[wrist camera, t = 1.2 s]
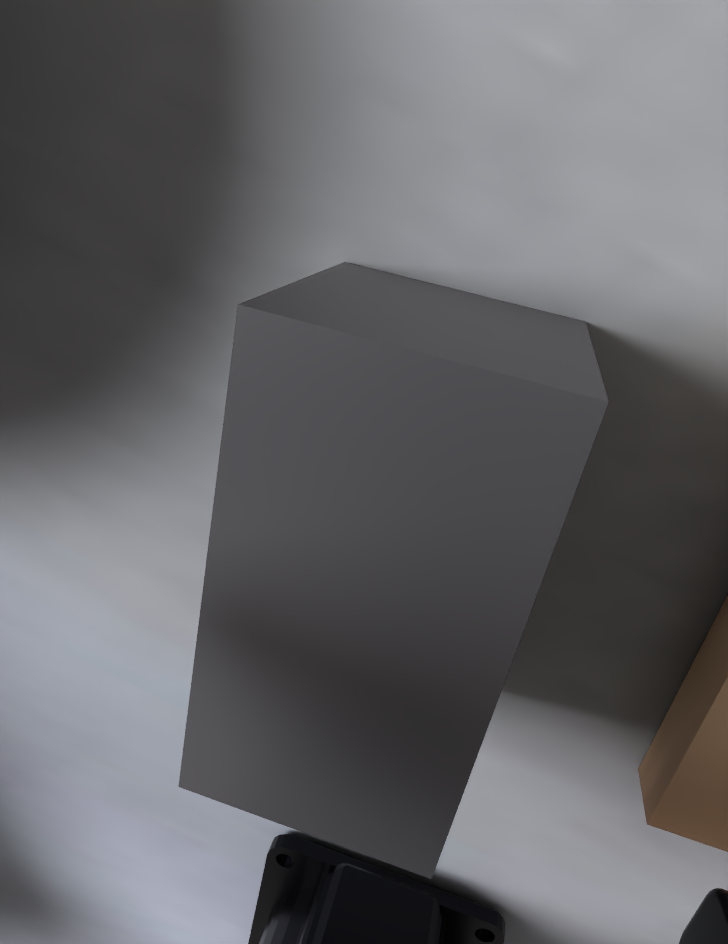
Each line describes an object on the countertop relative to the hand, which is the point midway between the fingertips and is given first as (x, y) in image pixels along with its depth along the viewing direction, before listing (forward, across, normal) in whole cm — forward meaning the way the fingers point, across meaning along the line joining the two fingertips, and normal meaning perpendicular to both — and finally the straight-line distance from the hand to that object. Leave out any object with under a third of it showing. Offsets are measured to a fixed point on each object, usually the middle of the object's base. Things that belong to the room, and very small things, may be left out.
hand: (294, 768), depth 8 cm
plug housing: (+7, 0, 0) cm, 7 cm away
